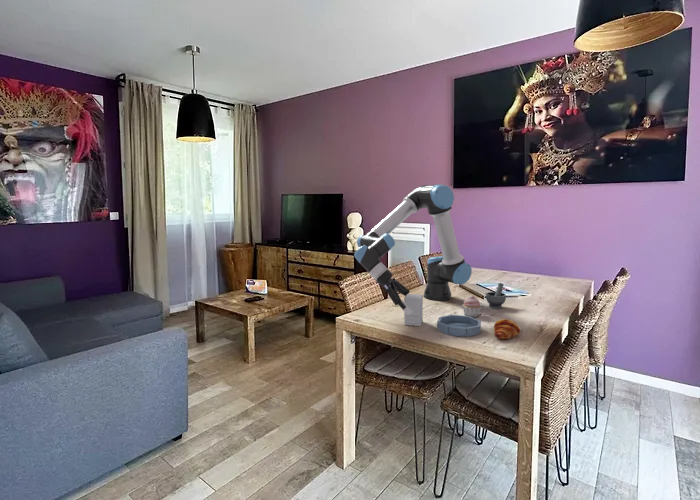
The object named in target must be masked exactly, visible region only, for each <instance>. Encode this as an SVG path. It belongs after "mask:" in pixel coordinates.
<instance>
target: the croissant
mask: <svg viewBox="0 0 700 500" xmlns="http://www.w3.org/2000/svg"><path fill="white" fill-rule="evenodd" d="M493 333H494V336H495V338H497V339H498V340H509V339H513V338H514V337H516V336H517V335H519V334H520V333H521V328H520V326H519V325H518V324H517V322H515V321H514V320H511V319H508V318H502V319H499V320H496V322H495V323H494V325H493Z"/></svg>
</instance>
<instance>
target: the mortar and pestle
mask: <svg viewBox="0 0 700 500" xmlns="http://www.w3.org/2000/svg"><path fill="white" fill-rule="evenodd" d="M503 288H504V283H501V282H499V283H497V287H496V290H495V291H488V292H486V293H485V299H486V301H487V303H488V307H489V308H490V309H493V310H501V309H503V305H504V304H505V302H506V299H507V295H506V293H503Z"/></svg>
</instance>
